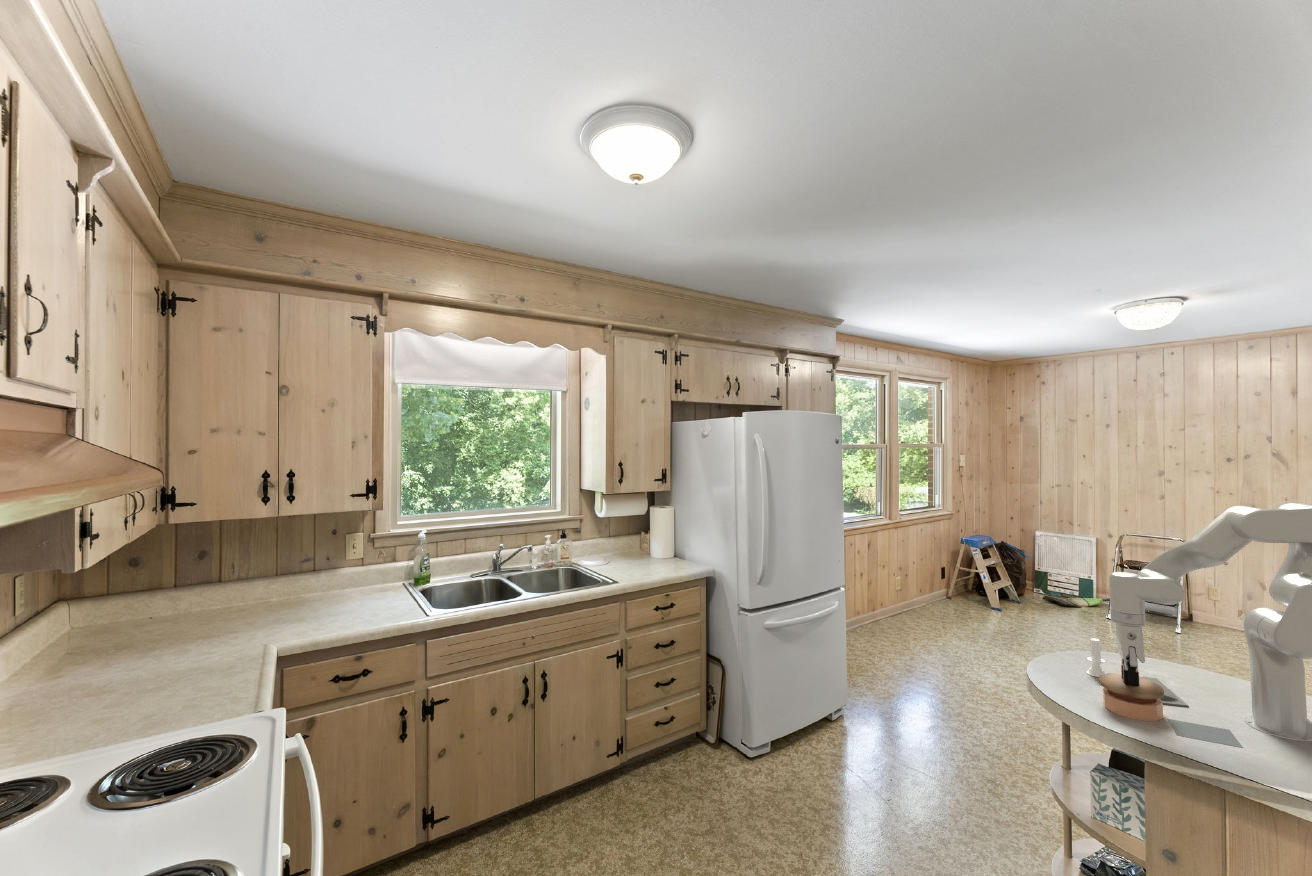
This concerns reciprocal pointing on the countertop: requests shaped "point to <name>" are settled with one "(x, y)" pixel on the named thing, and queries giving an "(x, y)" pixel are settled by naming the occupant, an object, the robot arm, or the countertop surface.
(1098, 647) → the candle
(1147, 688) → the lid
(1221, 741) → the mat
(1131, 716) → the bowl
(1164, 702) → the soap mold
